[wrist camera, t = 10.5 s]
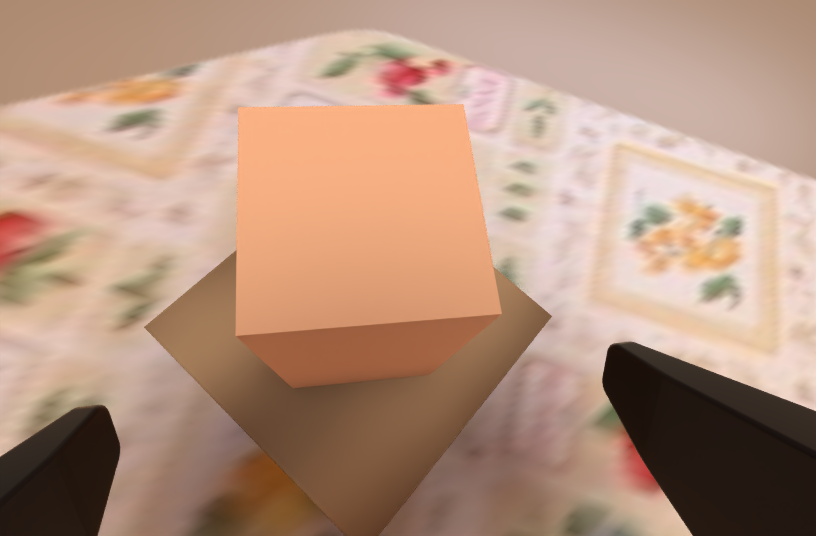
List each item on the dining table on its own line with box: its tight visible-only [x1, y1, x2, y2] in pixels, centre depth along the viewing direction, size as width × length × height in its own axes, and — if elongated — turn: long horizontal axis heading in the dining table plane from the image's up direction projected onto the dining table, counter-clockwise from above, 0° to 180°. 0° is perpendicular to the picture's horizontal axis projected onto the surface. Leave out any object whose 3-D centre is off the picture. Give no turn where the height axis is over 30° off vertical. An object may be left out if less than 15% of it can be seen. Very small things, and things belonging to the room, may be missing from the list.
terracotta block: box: [235, 104, 502, 388], centre depth 14 cm, size 5×5×9 cm
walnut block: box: [144, 250, 552, 536], centre depth 20 cm, size 11×11×4 cm
